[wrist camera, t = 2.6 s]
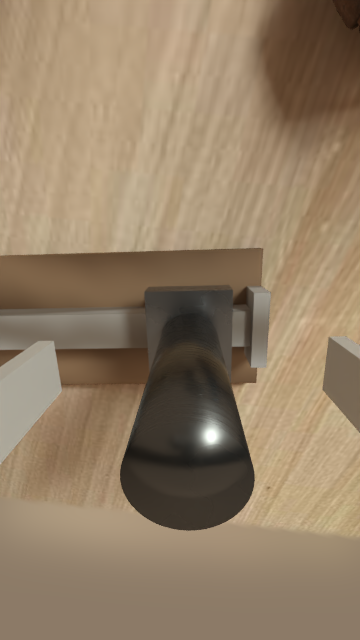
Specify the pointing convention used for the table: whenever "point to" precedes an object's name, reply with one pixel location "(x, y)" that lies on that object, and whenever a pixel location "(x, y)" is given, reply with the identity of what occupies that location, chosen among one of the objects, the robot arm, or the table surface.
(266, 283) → the table surface
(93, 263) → the rail base
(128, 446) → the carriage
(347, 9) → the broken pottery
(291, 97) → the table surface
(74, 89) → the table surface
